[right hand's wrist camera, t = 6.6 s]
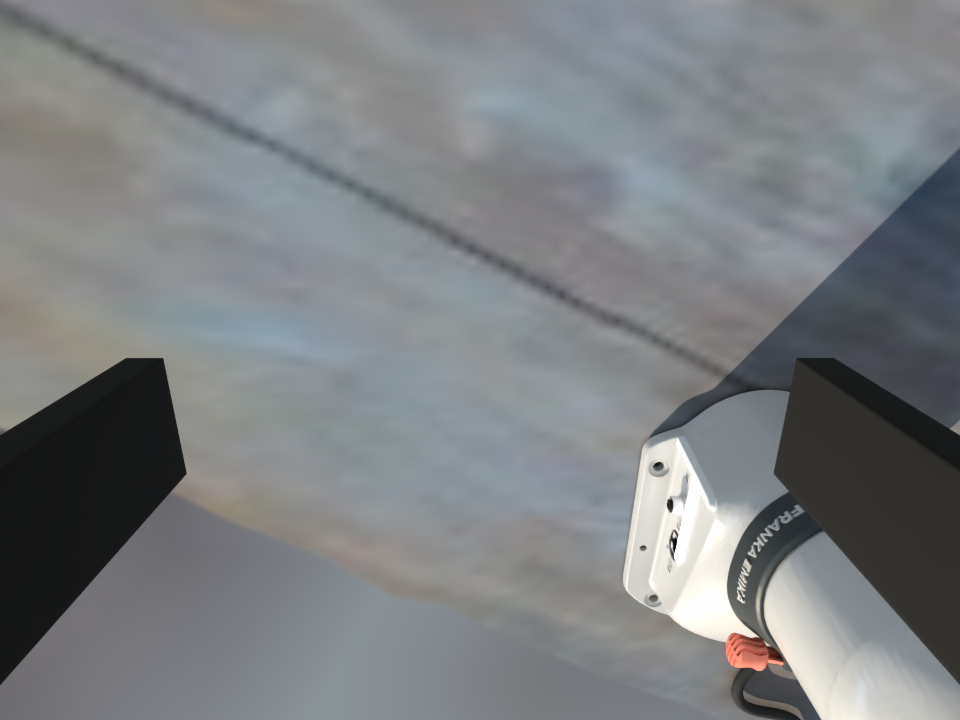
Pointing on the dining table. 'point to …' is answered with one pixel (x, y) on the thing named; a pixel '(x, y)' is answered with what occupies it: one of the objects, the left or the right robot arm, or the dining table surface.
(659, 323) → the dining table surface
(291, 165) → the dining table surface
